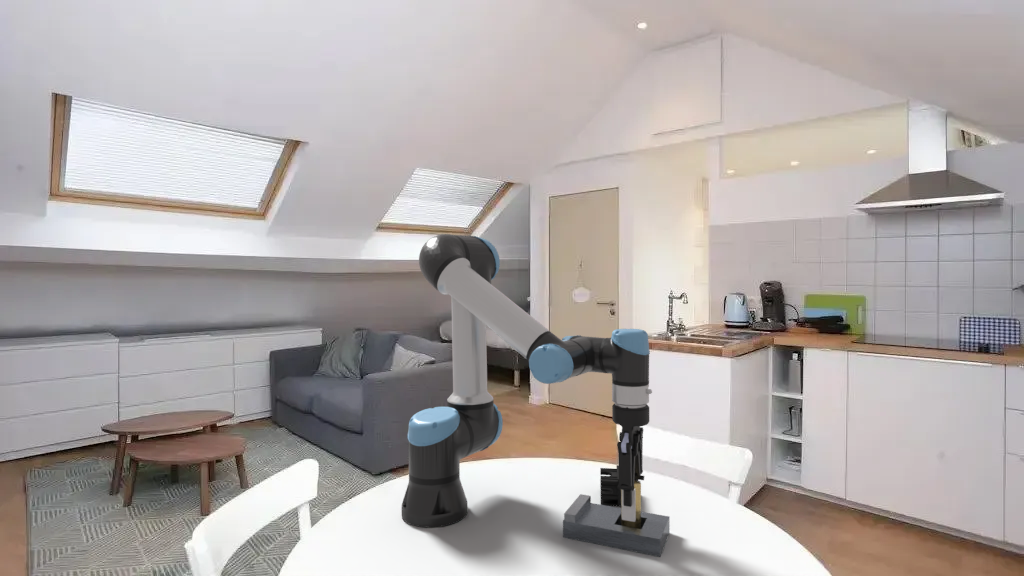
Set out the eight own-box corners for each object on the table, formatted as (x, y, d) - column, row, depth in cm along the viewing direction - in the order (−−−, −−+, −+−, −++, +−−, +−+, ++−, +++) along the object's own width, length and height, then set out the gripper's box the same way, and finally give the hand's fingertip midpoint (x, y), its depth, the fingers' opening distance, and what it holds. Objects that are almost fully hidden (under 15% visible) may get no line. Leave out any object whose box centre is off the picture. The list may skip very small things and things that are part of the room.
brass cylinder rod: (619, 533, 114) (619, 485, 114) (623, 525, 118) (623, 478, 118) (638, 536, 113) (638, 488, 112) (642, 528, 116) (642, 481, 116)
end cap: (631, 508, 130) (631, 479, 130) (600, 506, 131) (600, 478, 131) (628, 491, 140) (628, 465, 140) (600, 490, 141) (600, 464, 141)
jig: (563, 537, 116) (562, 513, 116) (579, 516, 126) (579, 493, 126) (660, 557, 107) (660, 531, 107) (669, 532, 117) (669, 509, 117)
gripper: (640, 415, 105) (640, 536, 106) (656, 396, 121) (657, 502, 121) (601, 411, 109) (602, 529, 109) (622, 394, 124) (623, 497, 125)
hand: (631, 515), depth 115 cm, fingers closed on brass cylinder rod, 4 cm apart
